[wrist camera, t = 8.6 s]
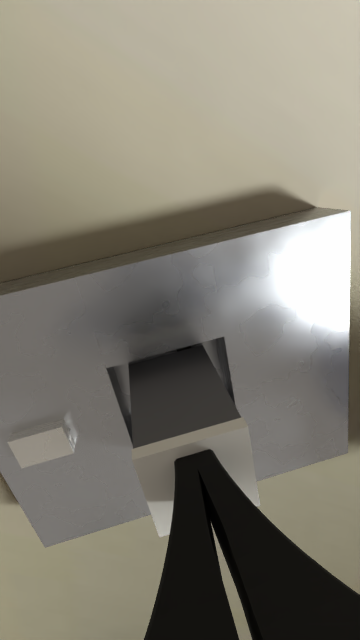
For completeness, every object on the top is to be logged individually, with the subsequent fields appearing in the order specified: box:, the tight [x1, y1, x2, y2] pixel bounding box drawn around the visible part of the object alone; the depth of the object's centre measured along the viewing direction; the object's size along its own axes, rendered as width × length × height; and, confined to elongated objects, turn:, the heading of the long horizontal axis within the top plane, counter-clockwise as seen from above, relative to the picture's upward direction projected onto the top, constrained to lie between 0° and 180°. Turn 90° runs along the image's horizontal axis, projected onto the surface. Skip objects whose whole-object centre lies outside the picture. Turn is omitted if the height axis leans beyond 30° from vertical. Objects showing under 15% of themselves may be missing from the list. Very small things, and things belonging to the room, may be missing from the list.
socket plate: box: [0, 207, 351, 547], centre depth 17 cm, size 18×14×3 cm
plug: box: [128, 345, 260, 537], centre depth 15 cm, size 4×4×6 cm
